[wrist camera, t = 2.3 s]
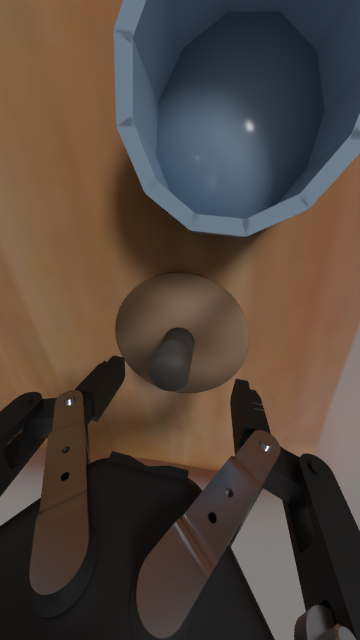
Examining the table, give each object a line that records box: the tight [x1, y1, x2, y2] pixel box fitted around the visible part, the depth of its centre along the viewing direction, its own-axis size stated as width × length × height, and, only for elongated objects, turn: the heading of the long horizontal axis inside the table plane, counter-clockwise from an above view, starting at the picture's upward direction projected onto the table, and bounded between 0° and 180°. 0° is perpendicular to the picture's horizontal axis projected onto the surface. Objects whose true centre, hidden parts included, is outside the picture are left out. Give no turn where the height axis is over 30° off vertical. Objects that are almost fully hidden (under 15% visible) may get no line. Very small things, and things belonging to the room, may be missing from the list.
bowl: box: [114, 0, 360, 238], centre depth 10 cm, size 11×11×5 cm
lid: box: [116, 272, 250, 393], centre depth 16 cm, size 13×13×6 cm
